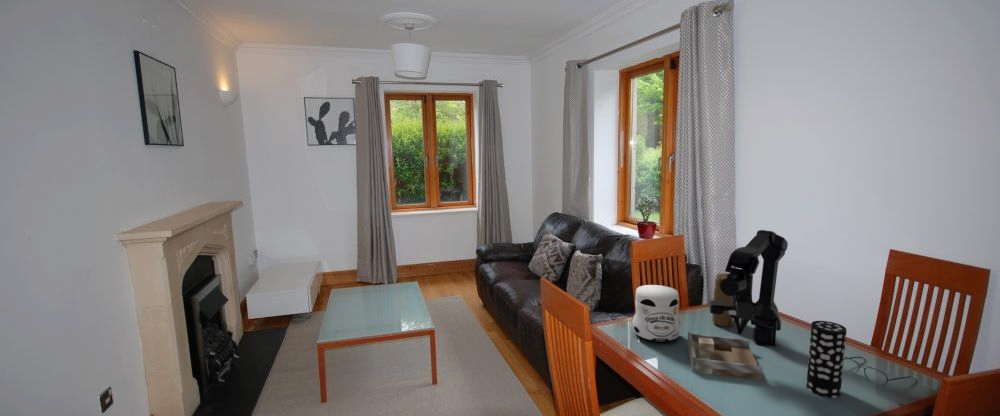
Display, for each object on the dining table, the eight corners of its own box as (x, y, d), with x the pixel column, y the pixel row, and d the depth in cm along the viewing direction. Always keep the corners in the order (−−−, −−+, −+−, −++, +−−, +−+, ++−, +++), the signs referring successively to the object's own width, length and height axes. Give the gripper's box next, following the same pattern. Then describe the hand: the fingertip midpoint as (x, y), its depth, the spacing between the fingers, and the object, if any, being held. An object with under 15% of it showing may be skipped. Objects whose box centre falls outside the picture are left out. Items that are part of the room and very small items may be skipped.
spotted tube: (799, 383, 139) (804, 321, 136) (825, 381, 139) (830, 320, 136) (820, 398, 130) (826, 333, 128) (847, 396, 131) (854, 331, 128)
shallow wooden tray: (748, 351, 160) (749, 338, 159) (761, 380, 141) (762, 365, 140) (687, 345, 166) (688, 332, 165) (692, 371, 147) (692, 357, 146)
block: (732, 328, 179) (735, 280, 176) (711, 325, 183) (713, 277, 180) (732, 319, 189) (735, 272, 186) (712, 316, 192) (715, 270, 189)
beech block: (712, 351, 157) (712, 338, 156) (713, 357, 152) (714, 344, 152) (697, 349, 158) (698, 337, 157) (698, 355, 154) (699, 342, 153)
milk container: (658, 350, 162) (659, 302, 160) (622, 333, 177) (623, 289, 174) (689, 338, 171) (691, 293, 168) (653, 323, 186) (654, 281, 183)
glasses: (835, 368, 148) (838, 354, 147) (864, 365, 153) (867, 350, 153) (886, 390, 135) (888, 374, 134) (915, 385, 140) (918, 370, 140)
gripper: (714, 294, 143) (711, 340, 146) (781, 299, 137) (777, 348, 140) (709, 283, 154) (707, 327, 156) (772, 288, 148) (769, 333, 150)
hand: (739, 334), depth 150 cm, fingers closed
